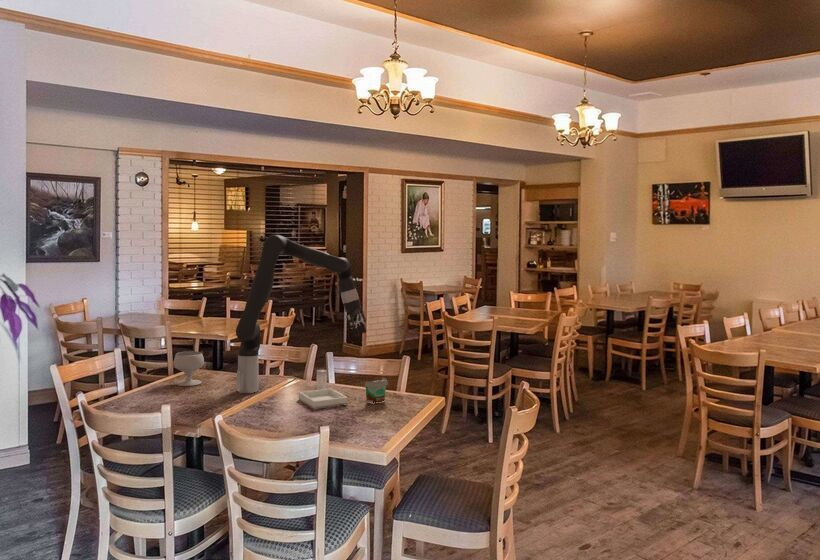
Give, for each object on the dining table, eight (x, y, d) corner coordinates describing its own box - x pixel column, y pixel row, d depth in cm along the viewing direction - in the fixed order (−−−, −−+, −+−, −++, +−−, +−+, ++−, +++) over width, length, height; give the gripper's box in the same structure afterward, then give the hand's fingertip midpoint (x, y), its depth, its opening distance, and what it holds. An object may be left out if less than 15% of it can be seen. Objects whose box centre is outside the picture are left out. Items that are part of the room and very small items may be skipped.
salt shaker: (318, 393, 299) (319, 372, 298) (315, 391, 303) (315, 370, 302) (328, 392, 301) (328, 371, 300) (324, 390, 305) (324, 369, 304)
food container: (375, 406, 278) (375, 383, 277) (364, 404, 282) (364, 381, 281) (392, 401, 288) (393, 379, 287) (382, 398, 291) (382, 376, 291)
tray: (314, 409, 271) (314, 401, 271) (298, 399, 286) (298, 392, 286) (347, 405, 279) (347, 397, 279) (331, 396, 294) (331, 388, 294)
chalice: (199, 379, 322) (199, 349, 321) (207, 385, 311) (207, 354, 309) (170, 382, 314) (170, 352, 313) (178, 388, 303) (177, 357, 302)
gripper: (349, 300, 299) (359, 333, 299) (337, 304, 285) (347, 339, 286) (364, 296, 296) (373, 330, 297) (352, 300, 283) (362, 336, 283)
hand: (360, 334), depth 291 cm, fingers open, 8 cm apart
